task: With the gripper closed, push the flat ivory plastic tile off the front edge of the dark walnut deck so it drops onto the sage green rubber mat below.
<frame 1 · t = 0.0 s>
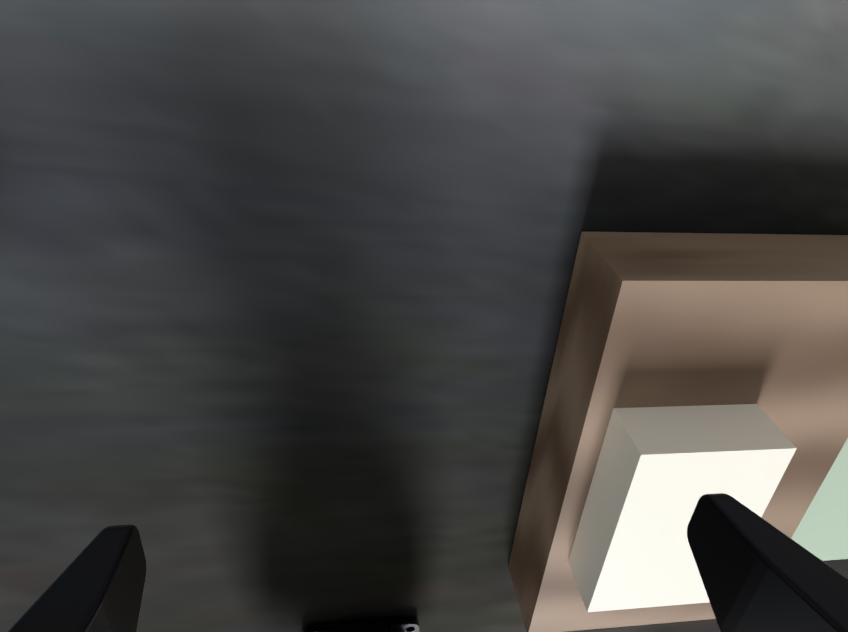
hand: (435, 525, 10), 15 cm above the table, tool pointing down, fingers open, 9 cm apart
tile: (655, 488, 27), point 4 cm above the table, touching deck
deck: (657, 423, 30), on the table
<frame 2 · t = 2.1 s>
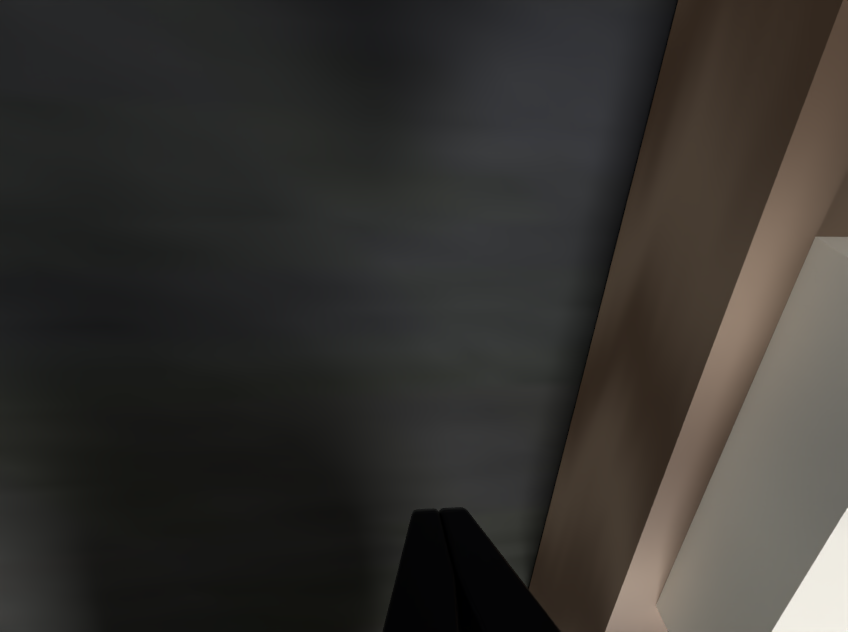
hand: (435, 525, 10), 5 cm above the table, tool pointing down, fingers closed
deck: (818, 336, 16), on the table
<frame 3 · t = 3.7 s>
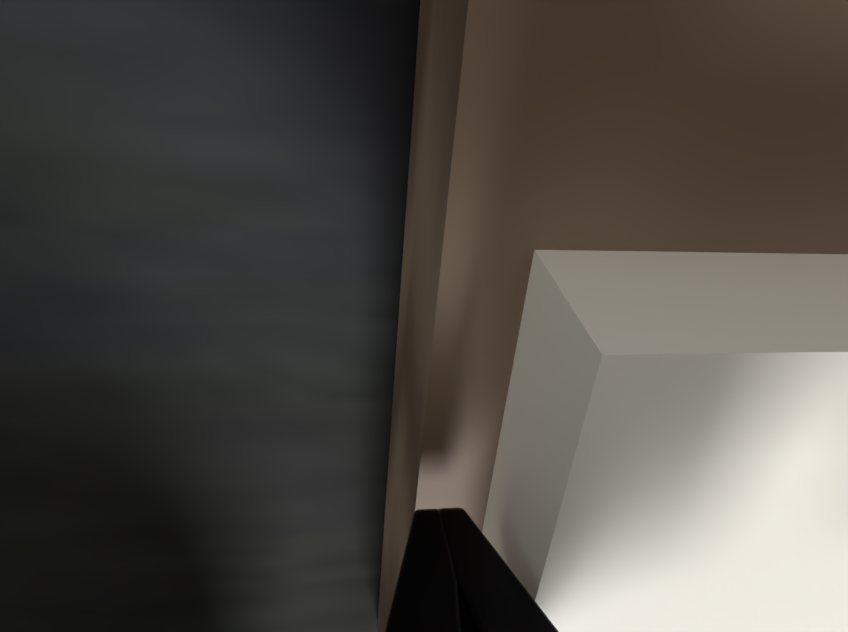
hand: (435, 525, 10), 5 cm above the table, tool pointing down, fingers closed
tile: (651, 477, 11), point 4 cm above the table, touching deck, gripper
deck: (645, 351, 15), on the table
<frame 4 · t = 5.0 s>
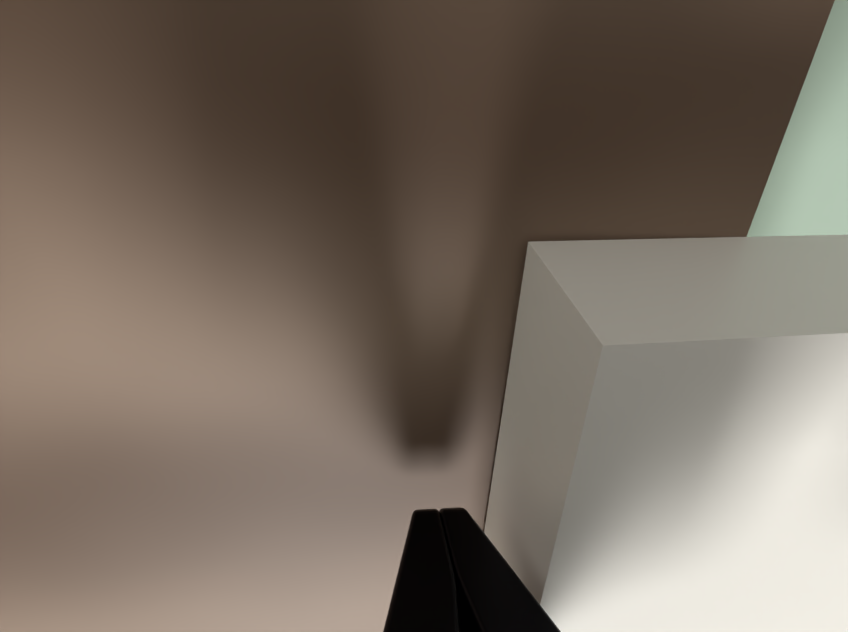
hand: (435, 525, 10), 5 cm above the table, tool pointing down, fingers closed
tile: (653, 466, 11), point 4 cm above the table, touching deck, gripper
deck: (324, 354, 14), on the table
mat: (783, 349, 16), on the table
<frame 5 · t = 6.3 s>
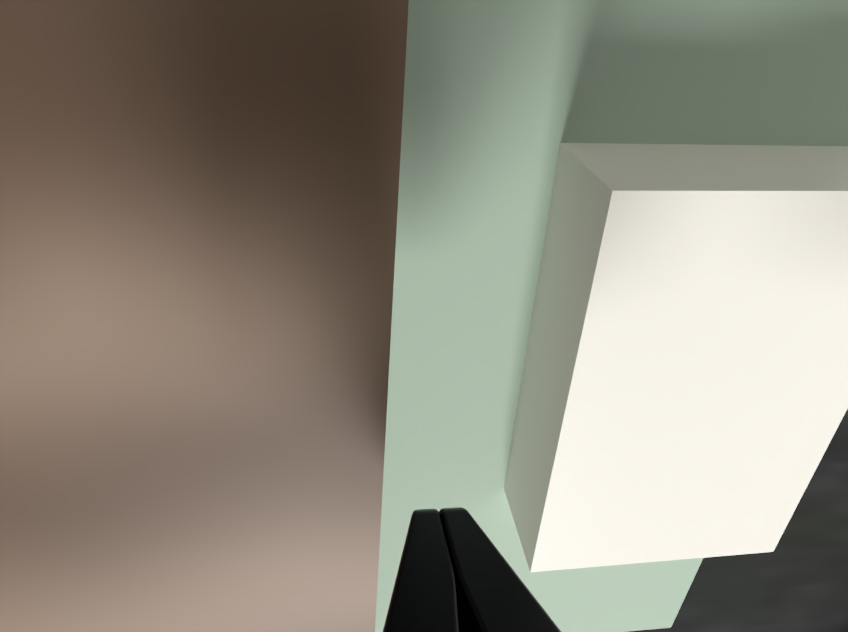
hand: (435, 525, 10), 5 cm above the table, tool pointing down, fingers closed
tile: (711, 412, 12), point 3 cm above the table, tilted 180°, touching mat
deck: (80, 358, 13), on the table
mat: (594, 350, 15), on the table
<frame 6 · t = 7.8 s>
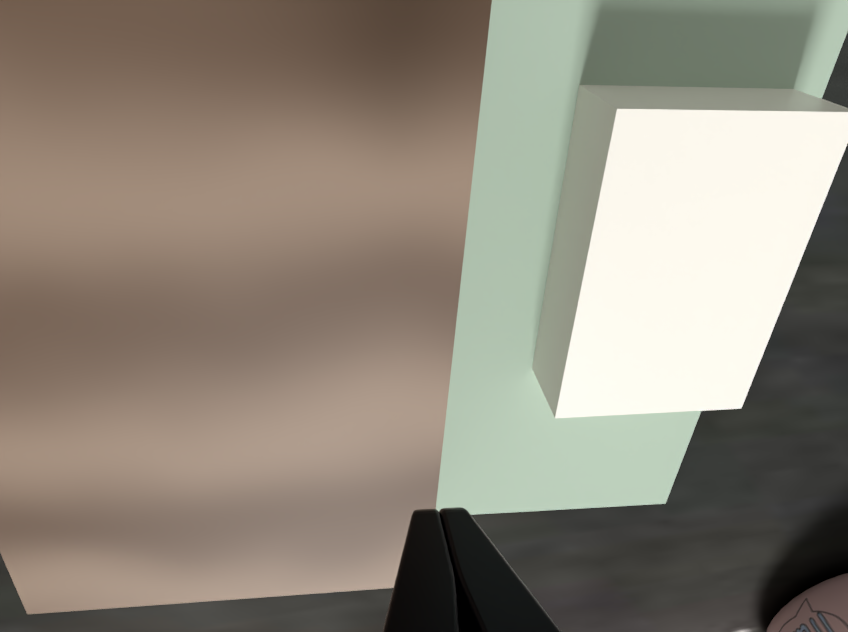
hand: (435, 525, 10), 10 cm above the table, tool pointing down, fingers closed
mug: (817, 614, 33), on the table
tile: (689, 283, 17), point 3 cm above the table, tilted 180°, touching mat
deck: (222, 251, 18), on the table
mat: (603, 253, 19), on the table
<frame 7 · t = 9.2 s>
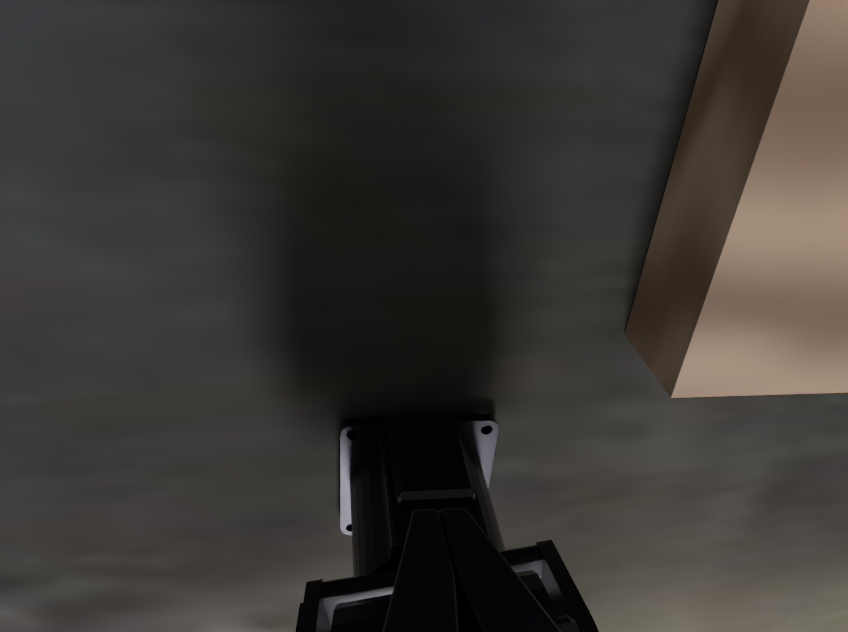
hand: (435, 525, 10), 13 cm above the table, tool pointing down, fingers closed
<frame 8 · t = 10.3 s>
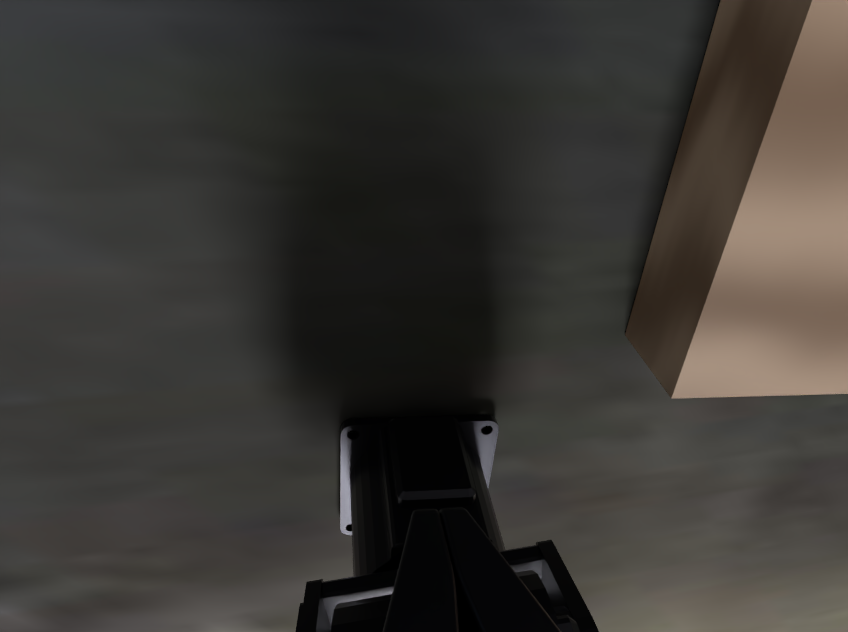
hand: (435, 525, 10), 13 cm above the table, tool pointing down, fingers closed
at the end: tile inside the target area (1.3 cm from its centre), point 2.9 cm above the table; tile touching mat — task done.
